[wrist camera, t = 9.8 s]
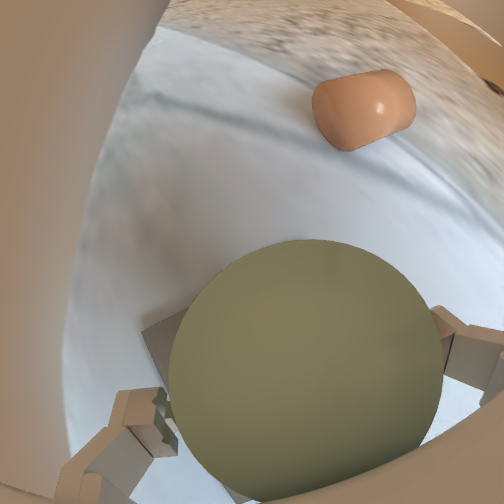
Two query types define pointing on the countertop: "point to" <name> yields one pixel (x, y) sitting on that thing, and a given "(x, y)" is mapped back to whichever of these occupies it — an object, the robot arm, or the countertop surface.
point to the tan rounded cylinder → (363, 108)
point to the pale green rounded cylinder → (304, 369)
